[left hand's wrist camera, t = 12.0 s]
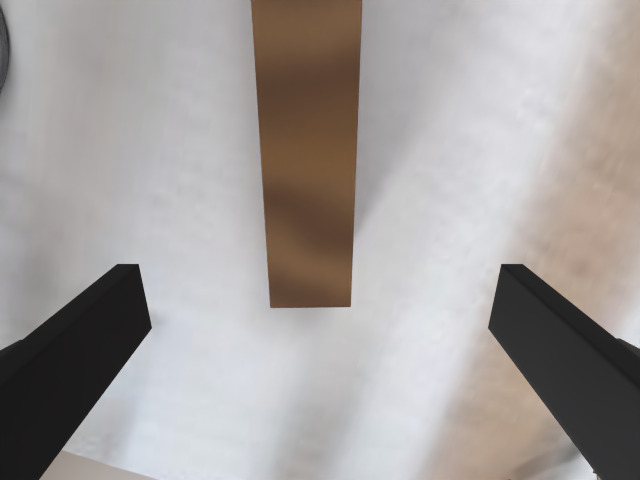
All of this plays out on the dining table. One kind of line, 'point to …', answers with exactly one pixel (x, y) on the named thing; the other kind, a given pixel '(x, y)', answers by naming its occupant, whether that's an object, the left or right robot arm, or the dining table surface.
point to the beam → (308, 145)
